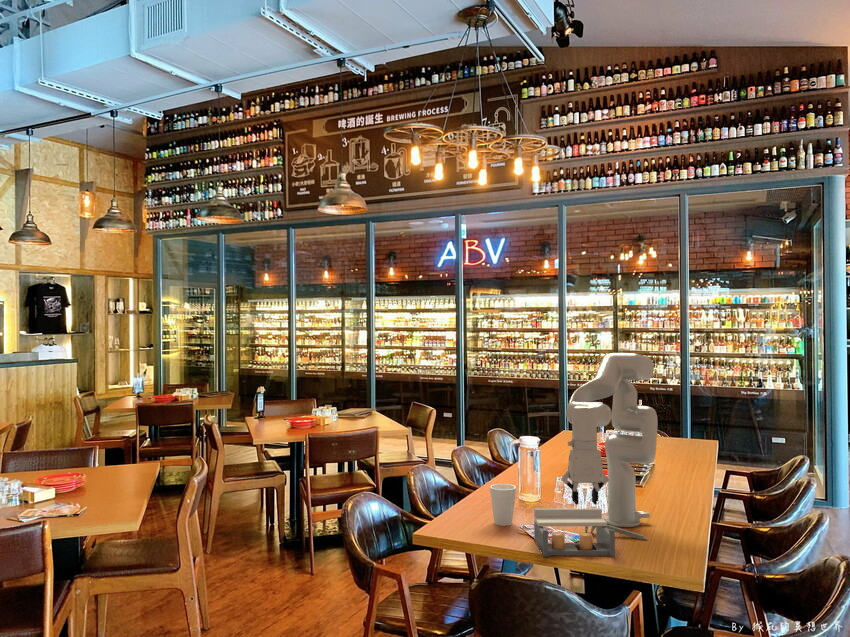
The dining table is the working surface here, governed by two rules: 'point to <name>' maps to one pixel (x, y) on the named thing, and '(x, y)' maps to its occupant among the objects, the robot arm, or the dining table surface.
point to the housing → (561, 548)
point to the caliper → (621, 531)
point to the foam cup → (503, 503)
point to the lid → (569, 517)
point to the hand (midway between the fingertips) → (585, 502)
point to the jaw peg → (585, 541)
